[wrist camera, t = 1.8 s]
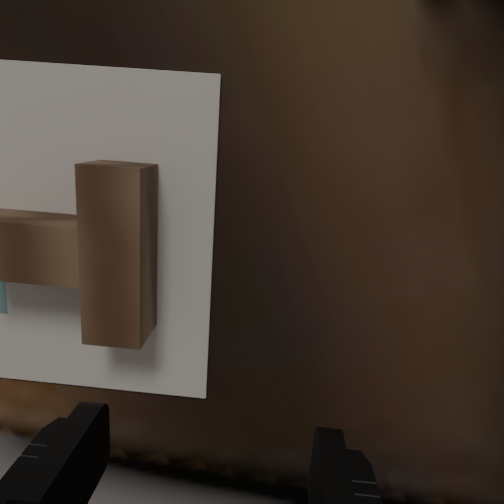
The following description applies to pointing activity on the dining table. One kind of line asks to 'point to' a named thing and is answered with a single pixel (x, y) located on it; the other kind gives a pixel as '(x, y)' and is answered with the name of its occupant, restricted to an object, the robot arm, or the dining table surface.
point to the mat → (64, 201)
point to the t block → (95, 250)
